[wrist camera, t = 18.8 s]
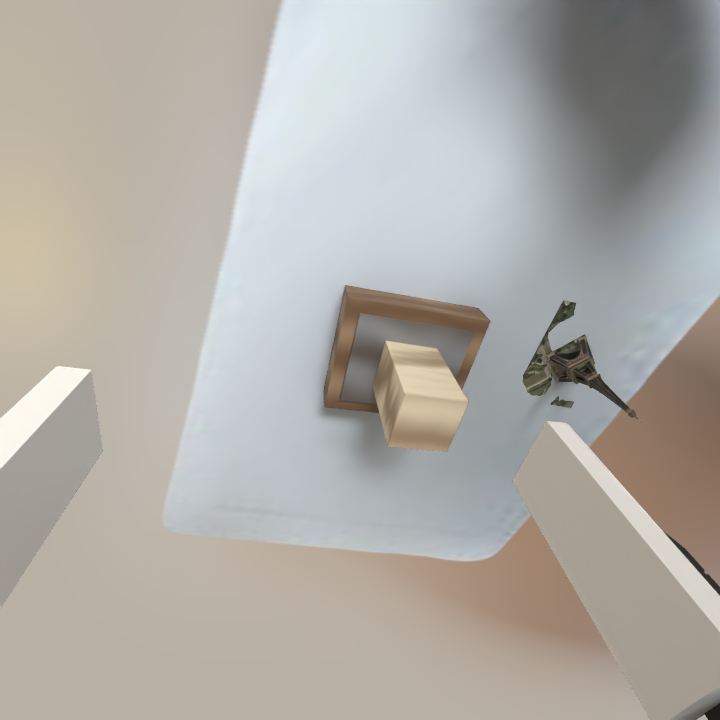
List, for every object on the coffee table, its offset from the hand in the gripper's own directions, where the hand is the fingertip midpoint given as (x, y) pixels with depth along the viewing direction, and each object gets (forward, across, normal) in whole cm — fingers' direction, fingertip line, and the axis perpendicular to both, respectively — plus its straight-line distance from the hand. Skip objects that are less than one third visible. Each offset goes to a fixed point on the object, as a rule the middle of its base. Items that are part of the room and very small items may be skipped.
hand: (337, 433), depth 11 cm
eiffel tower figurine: (+32, +35, -11) cm, 49 cm away
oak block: (+28, +12, -13) cm, 33 cm away
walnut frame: (+32, +12, -13) cm, 36 cm away
